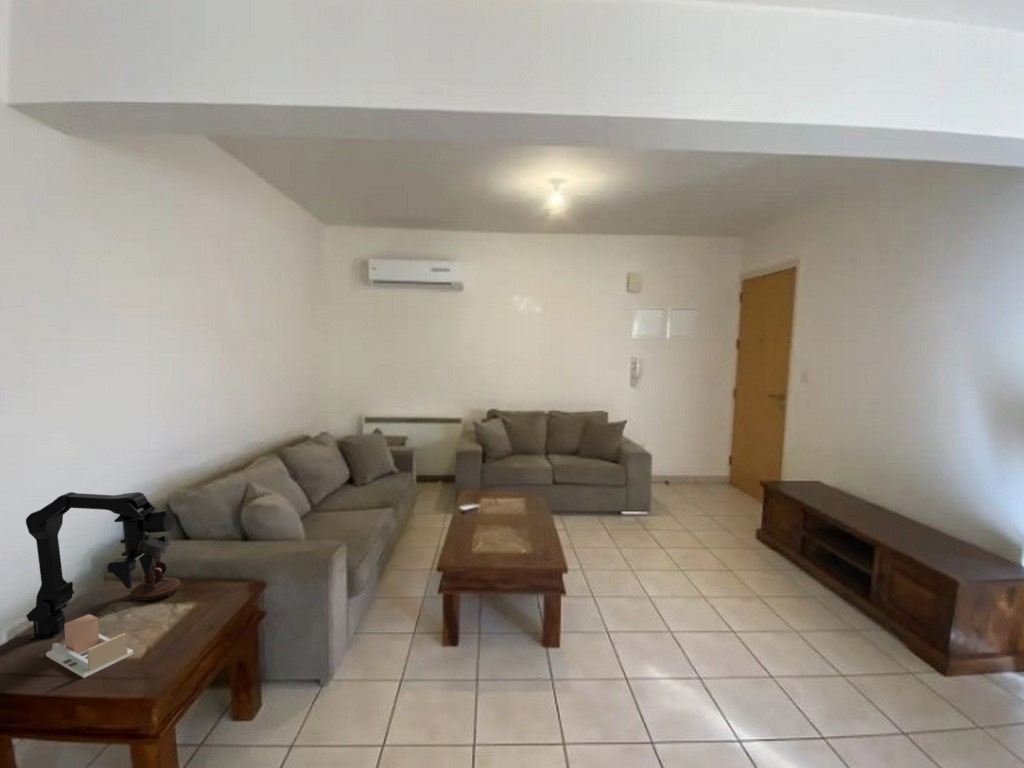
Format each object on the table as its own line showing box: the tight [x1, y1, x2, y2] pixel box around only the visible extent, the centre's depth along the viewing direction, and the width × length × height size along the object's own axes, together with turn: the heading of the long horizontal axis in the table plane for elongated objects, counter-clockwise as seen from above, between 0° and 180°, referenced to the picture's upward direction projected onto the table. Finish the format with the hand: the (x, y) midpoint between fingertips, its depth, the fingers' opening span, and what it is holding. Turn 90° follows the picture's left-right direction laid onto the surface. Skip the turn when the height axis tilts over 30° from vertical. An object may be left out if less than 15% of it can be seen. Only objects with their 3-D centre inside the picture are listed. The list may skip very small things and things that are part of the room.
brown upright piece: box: [130, 536, 181, 603], centre depth 181 cm, size 15×15×20 cm
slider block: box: [64, 613, 100, 653], centre depth 146 cm, size 5×6×8 cm
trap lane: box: [45, 632, 134, 679], centre depth 145 cm, size 21×12×7 cm, turn 64°
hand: (138, 581), depth 158 cm, fingers open, 9 cm apart
